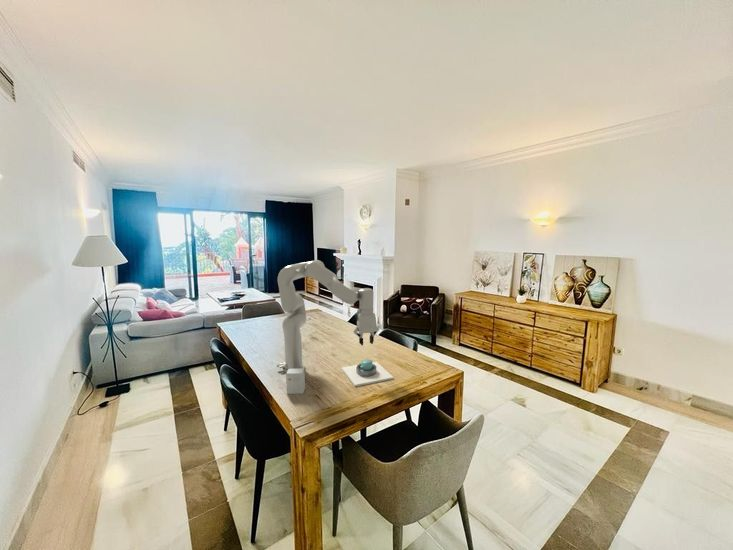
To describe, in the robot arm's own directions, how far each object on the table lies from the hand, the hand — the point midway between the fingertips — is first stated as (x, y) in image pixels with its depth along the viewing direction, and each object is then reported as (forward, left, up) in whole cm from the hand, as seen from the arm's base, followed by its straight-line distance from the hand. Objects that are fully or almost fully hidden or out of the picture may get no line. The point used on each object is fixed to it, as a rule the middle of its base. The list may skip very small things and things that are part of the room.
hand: (366, 343), depth 162 cm
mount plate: (0, 0, -17) cm, 17 cm away
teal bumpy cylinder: (0, 0, -16) cm, 16 cm away
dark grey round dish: (0, 0, -17) cm, 17 cm away
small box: (-39, -4, -18) cm, 43 cm away
